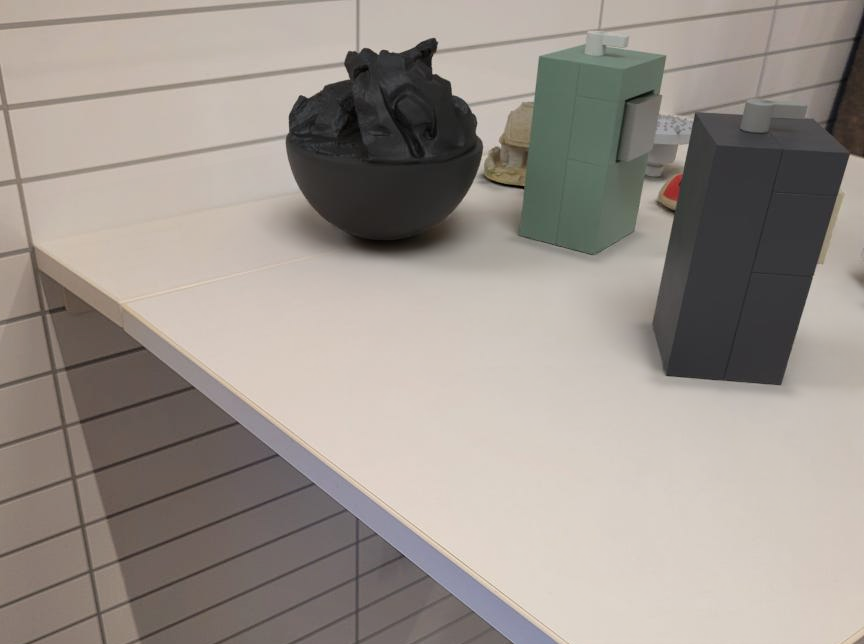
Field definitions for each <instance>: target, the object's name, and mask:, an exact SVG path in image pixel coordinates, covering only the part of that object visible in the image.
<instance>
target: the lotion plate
mask: <svg viewBox="0 0 864 644" xmlns="http://www.w3.org/2000/svg"><path fill="white" fill-rule="evenodd" d="M844 197H845V192H844V191H843V189H841V188H840V189H839V193H838V196H837V199H836V202H835V206H834V209H833V212H832V216H831V219H830V222H829V226H828V229H827V233H826V236H825V239H824V243H823V246H822V249H821V253H820V256H819V259H818V263H817V265H824V263H825V260H826V256H827V252H828V249H829V246H830V243H831V241H832V236H833V233H834V230H835V227H836V223H837V220H838V216H839V213H840V210H841V206H842V204H843V200H844Z"/></svg>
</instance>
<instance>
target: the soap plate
mask: <svg viewBox="0 0 864 644" xmlns="http://www.w3.org/2000/svg"><path fill="white" fill-rule="evenodd" d="M662 100H663V95H662V94H653V93H649V94H646V95H643V96H641V97H638V98H635V99H633V100H630V101H627V102H625V106H624V112H623V118H622V124H621V130H620V136H619V143H618V149H617V155H616V160H621V161H626V162H628V161H630V160H632V159H635V158H637V157H639V156H641V155H643V154H645V153H647V152H649V151H651V150H652V149H653V144H654V138H655V133H656V127H657V122H658V116H659V114H660V110H661V106H662V105H661V104H662Z"/></svg>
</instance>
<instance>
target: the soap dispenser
mask: <svg viewBox="0 0 864 644" xmlns="http://www.w3.org/2000/svg"><path fill="white" fill-rule="evenodd" d="M629 42H630V35H627V34H619V33H612V32H607V31H604V30H588V31H587V32H586V37H585V43H584V44H580V45H576V46H573V47H569V48H565V49H561V50H556V51H553V52H549V53H546V54H542V55H539V56H538V61H537V62H538V63H537V71H536V79H535V80H536V82H535V89H534V98H533V102H534V106H533V115H532V124H531V133H530V142H529V151H528V160H527V169H526V178H525V186H523V196H522V197H523V198H522V205H521V206H522V207H521V215H520V224H519V234H518V236H520V237H524V238H528V239H531V240H536V241H540V242H543V243H546V244H551V245H554V246H559V247H563V248H566V249H570V250H573V251H577V252H581V253H586V254H588V255H593V256H595V255H596V254H598V253H600V252H601V251H603V250H605V249H607V248H608V247H610V246H611V245H613V244H615V243H617V242H618V241H620V240H622V239H623V238H625V237H627V236H628V235H630V234H631V233H633V232H635V231H636V226H637V221H638V216H639V210H640V204H641V200H642V199H641V198H642V193H643V187H644V182H645V176H646V175H645V171H646V166H647V160H648V155H649V152H647V153H645V154H643V155H641V156H639V157H637V158H635V159H632V160H630V161H628V162H626V161H621V160H616V155H617V149H618V143H619V136H620V130H621V124H622V118H623V112H624V106H625V102H627V101H630V100H633V99H635V98H638V97H641V96H643V95H646V94H649V93H653V94H659V95H661V89H662V88H661V87H662V83H663V78H664V73H665V72H664V71H665V66H666V61H667V54H660V53H655V52H654V53H652V52H647V51H639V50H631V49H625V48H628V47H629Z"/></svg>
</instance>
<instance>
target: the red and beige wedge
mask: <svg viewBox="0 0 864 644" xmlns="http://www.w3.org/2000/svg"><path fill="white" fill-rule="evenodd" d="M682 175H683V173H677V174H674V175H673V176H672V177H670V178H668V179H667V180H666V181H665V182H664V183H663V185H662V186H661V188H660V190H659V191H658V195H657V199H658V201H659V203H661V205H663V206H664V207H665V208H667V209H670V210H671V211H674V212H675V209H676V204H677V199H678V194H679V189H680V185H681V180H682Z"/></svg>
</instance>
